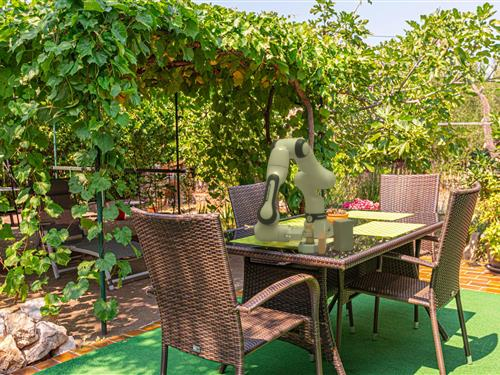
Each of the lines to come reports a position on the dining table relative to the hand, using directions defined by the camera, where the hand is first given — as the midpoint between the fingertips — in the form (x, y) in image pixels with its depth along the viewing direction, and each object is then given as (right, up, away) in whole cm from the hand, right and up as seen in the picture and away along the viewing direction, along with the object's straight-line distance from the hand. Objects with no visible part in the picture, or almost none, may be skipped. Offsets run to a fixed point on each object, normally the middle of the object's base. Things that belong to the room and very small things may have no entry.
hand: (312, 233), depth 258 cm
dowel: (-1, -9, +1) cm, 9 cm away
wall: (+5, -9, 0) cm, 10 cm away
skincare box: (+16, -9, -1) cm, 18 cm away
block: (-1, -9, +1) cm, 9 cm away
